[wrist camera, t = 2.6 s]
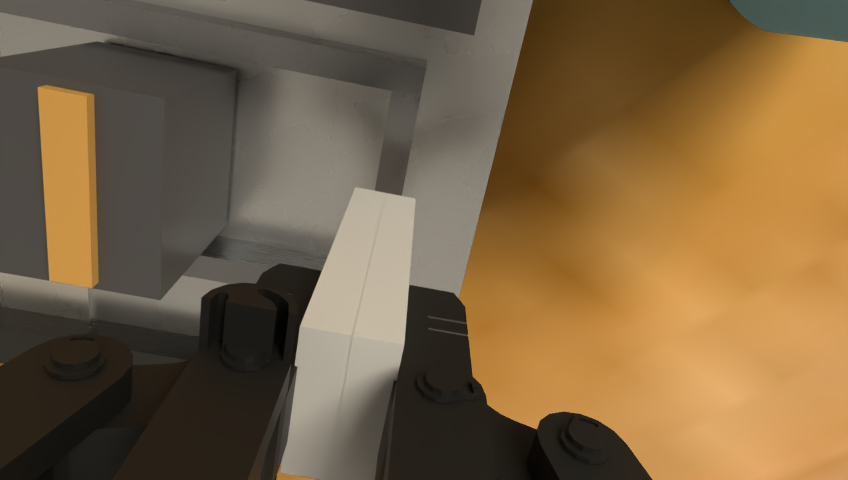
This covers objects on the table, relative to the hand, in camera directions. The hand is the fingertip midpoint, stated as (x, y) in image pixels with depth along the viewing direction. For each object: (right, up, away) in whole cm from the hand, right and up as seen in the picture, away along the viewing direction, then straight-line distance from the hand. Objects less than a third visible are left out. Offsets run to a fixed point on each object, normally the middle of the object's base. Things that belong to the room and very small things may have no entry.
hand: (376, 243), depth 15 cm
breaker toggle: (-7, +3, +3) cm, 8 cm away
